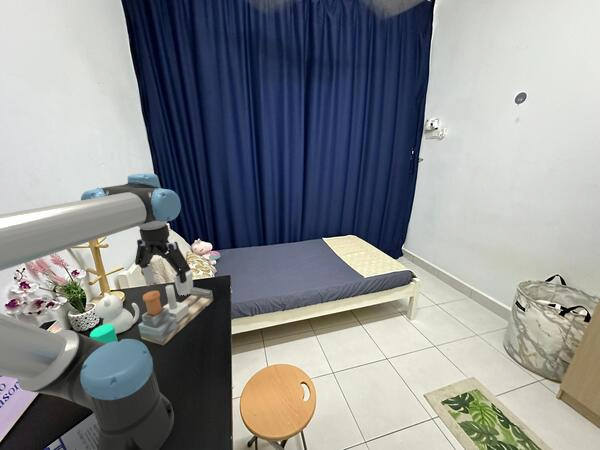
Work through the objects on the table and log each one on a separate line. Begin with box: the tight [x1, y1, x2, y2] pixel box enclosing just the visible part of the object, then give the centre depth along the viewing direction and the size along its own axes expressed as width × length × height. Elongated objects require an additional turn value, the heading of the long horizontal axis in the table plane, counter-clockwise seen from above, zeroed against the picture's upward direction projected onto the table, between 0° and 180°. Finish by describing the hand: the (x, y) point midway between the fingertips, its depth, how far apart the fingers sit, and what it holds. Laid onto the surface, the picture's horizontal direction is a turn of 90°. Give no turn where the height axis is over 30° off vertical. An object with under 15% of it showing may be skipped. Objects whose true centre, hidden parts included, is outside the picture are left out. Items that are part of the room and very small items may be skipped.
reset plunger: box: [142, 290, 162, 316], centre depth 85 cm, size 5×5×7 cm
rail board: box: [137, 286, 214, 346], centre depth 97 cm, size 27×10×10 cm, turn 161°
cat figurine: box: [94, 292, 140, 335], centre depth 91 cm, size 9×12×15 cm
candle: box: [89, 324, 119, 343], centre depth 79 cm, size 6×6×12 cm
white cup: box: [172, 269, 194, 297], centre depth 115 cm, size 8×8×10 cm
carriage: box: [163, 284, 189, 322], centre depth 93 cm, size 6×8×13 cm
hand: (166, 287), depth 81 cm, fingers open, 13 cm apart
